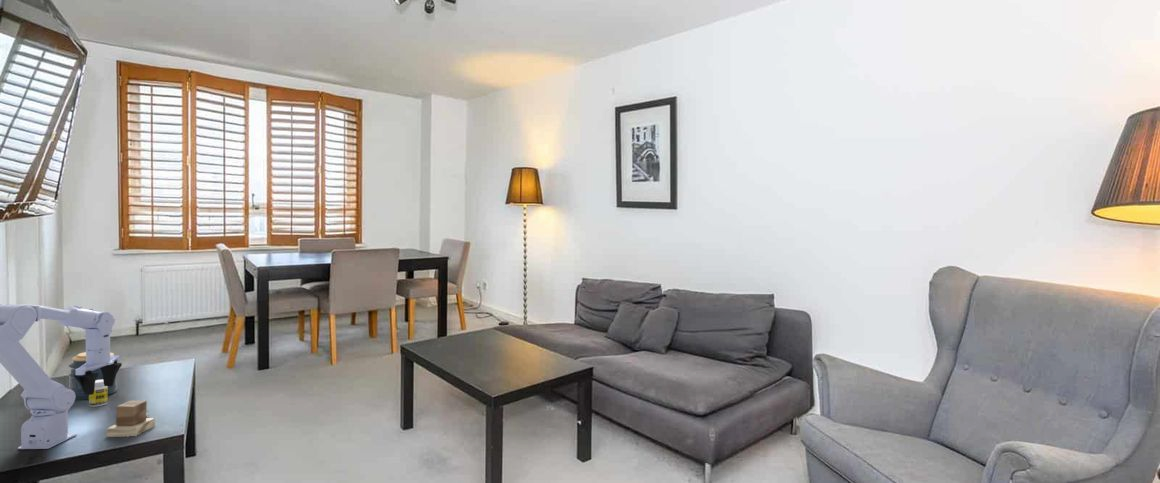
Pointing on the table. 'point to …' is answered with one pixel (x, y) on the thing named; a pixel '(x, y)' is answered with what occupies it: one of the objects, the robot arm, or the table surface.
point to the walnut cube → (131, 413)
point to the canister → (81, 360)
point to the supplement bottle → (98, 394)
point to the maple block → (130, 429)
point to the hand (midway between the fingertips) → (99, 390)
